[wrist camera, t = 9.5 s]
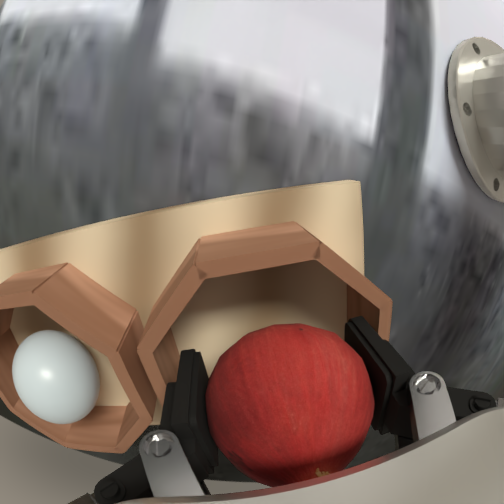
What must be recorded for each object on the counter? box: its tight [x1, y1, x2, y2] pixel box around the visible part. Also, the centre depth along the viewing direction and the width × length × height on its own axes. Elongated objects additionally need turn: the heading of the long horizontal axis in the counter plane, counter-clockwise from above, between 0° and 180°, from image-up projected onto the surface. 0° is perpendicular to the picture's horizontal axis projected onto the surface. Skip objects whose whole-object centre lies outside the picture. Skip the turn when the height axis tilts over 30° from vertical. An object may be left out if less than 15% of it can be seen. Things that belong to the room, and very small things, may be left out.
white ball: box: [12, 330, 100, 424], centre depth 11 cm, size 5×5×5 cm
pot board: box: [0, 180, 393, 453], centre depth 13 cm, size 22×13×5 cm, turn 98°
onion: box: [205, 323, 375, 487], centre depth 9 cm, size 6×6×8 cm
